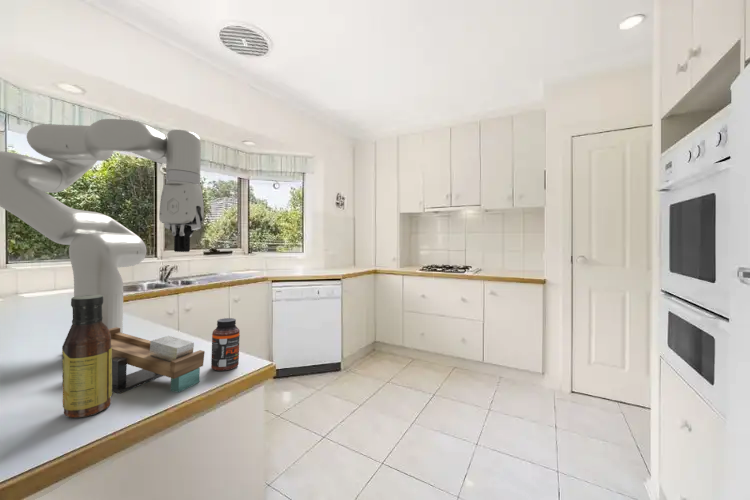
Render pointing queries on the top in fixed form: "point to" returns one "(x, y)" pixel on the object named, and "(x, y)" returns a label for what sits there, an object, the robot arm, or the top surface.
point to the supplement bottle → (225, 345)
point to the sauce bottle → (87, 360)
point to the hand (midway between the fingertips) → (182, 251)
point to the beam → (139, 357)
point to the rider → (170, 348)
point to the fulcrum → (146, 377)
